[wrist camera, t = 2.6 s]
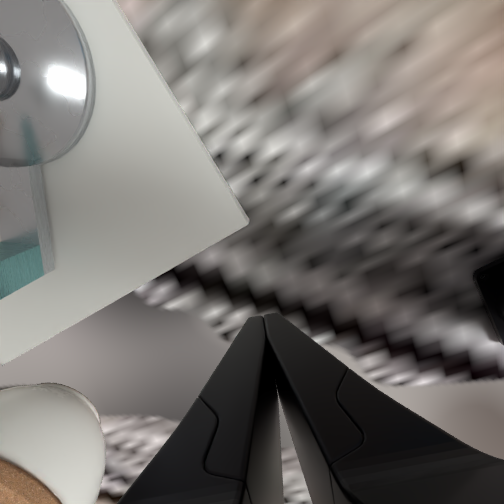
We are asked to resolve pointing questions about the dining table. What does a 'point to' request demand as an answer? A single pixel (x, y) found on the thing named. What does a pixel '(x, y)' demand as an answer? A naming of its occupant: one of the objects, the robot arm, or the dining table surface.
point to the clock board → (119, 192)
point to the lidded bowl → (49, 446)
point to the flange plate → (37, 124)
